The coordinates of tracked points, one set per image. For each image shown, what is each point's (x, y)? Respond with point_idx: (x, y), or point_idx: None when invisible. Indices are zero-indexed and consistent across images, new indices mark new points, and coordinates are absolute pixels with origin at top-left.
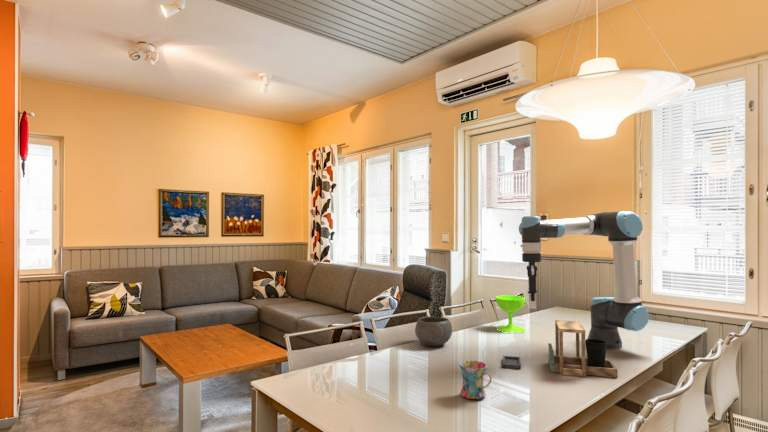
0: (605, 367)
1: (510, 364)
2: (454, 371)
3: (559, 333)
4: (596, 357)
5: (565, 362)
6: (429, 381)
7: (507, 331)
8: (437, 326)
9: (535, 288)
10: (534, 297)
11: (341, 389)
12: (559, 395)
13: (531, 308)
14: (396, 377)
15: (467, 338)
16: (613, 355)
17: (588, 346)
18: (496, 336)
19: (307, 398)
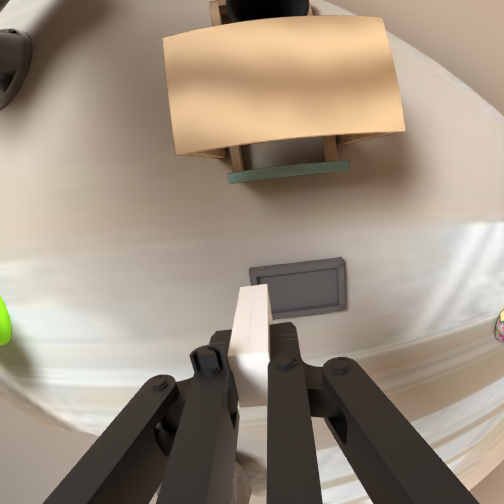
0: (222, 21)
1: (342, 290)
2: (397, 390)
3: (394, 133)
4: None
5: None
6: (453, 401)
7: (6, 320)
8: (239, 495)
9: (377, 389)
10: (297, 340)
11: (476, 456)
12: (483, 158)
13: (271, 315)
14: (437, 442)
15: (108, 407)
16: (82, 25)
17: None
18: (47, 345)
19: (494, 459)
